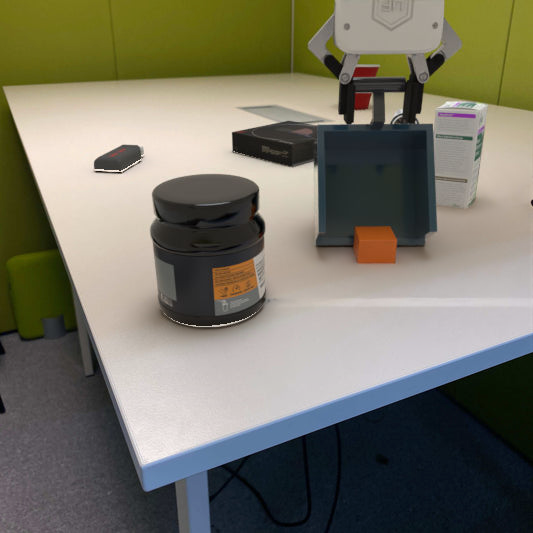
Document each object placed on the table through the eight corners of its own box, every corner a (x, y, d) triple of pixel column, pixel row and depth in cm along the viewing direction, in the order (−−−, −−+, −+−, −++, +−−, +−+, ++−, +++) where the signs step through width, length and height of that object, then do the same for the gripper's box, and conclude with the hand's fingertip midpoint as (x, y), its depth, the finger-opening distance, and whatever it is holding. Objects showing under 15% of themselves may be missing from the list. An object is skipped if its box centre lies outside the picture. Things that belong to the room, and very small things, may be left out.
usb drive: (94, 172, 98) (92, 156, 97) (124, 155, 109) (122, 141, 108) (121, 173, 97) (119, 158, 96) (148, 156, 108) (147, 142, 107)
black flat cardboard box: (350, 150, 110) (351, 130, 109) (292, 166, 100) (292, 144, 98) (290, 138, 121) (291, 120, 119) (232, 152, 110) (231, 132, 109)
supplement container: (288, 311, 53) (288, 190, 47) (191, 347, 47) (179, 216, 42) (230, 272, 60) (225, 165, 55) (141, 300, 55) (126, 184, 50)
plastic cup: (377, 105, 160) (380, 61, 155) (377, 111, 150) (380, 65, 145) (339, 104, 162) (341, 61, 157) (337, 110, 152) (339, 65, 147)
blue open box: (313, 112, 67) (318, 74, 57) (416, 111, 67) (439, 73, 57) (314, 247, 65) (320, 232, 55) (421, 247, 65) (446, 231, 55)
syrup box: (466, 217, 75) (483, 108, 69) (423, 211, 78) (435, 105, 71) (474, 205, 79) (490, 102, 73) (433, 199, 82) (445, 99, 76)
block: (397, 239, 58) (394, 273, 60) (390, 226, 62) (387, 258, 63) (359, 240, 58) (357, 273, 60) (354, 226, 62) (352, 258, 63)
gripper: (301, -84, 47) (298, 129, 55) (503, -87, 47) (471, 128, 54) (297, -73, 54) (295, 116, 61) (474, -76, 53) (449, 114, 61)
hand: (378, 119), depth 58 cm, fingers closed on blue open box, 5 cm apart
